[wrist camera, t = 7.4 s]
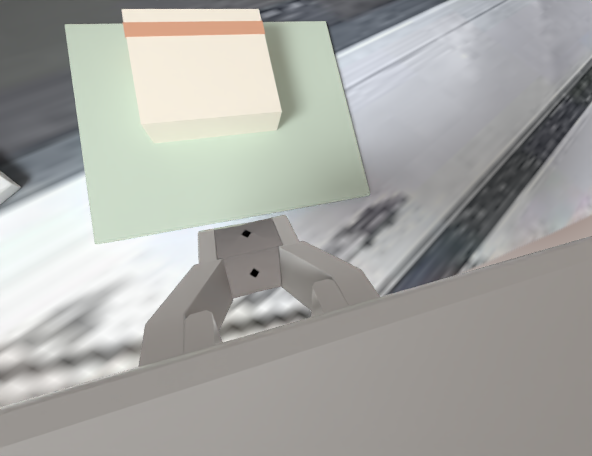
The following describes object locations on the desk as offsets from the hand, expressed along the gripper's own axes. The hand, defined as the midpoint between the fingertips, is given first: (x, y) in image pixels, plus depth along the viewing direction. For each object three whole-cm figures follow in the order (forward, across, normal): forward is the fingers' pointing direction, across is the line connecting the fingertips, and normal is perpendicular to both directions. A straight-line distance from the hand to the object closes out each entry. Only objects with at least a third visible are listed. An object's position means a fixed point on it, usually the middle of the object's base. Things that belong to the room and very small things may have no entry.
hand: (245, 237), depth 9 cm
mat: (+15, -1, 0) cm, 15 cm away
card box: (+12, 0, 0) cm, 12 cm away
